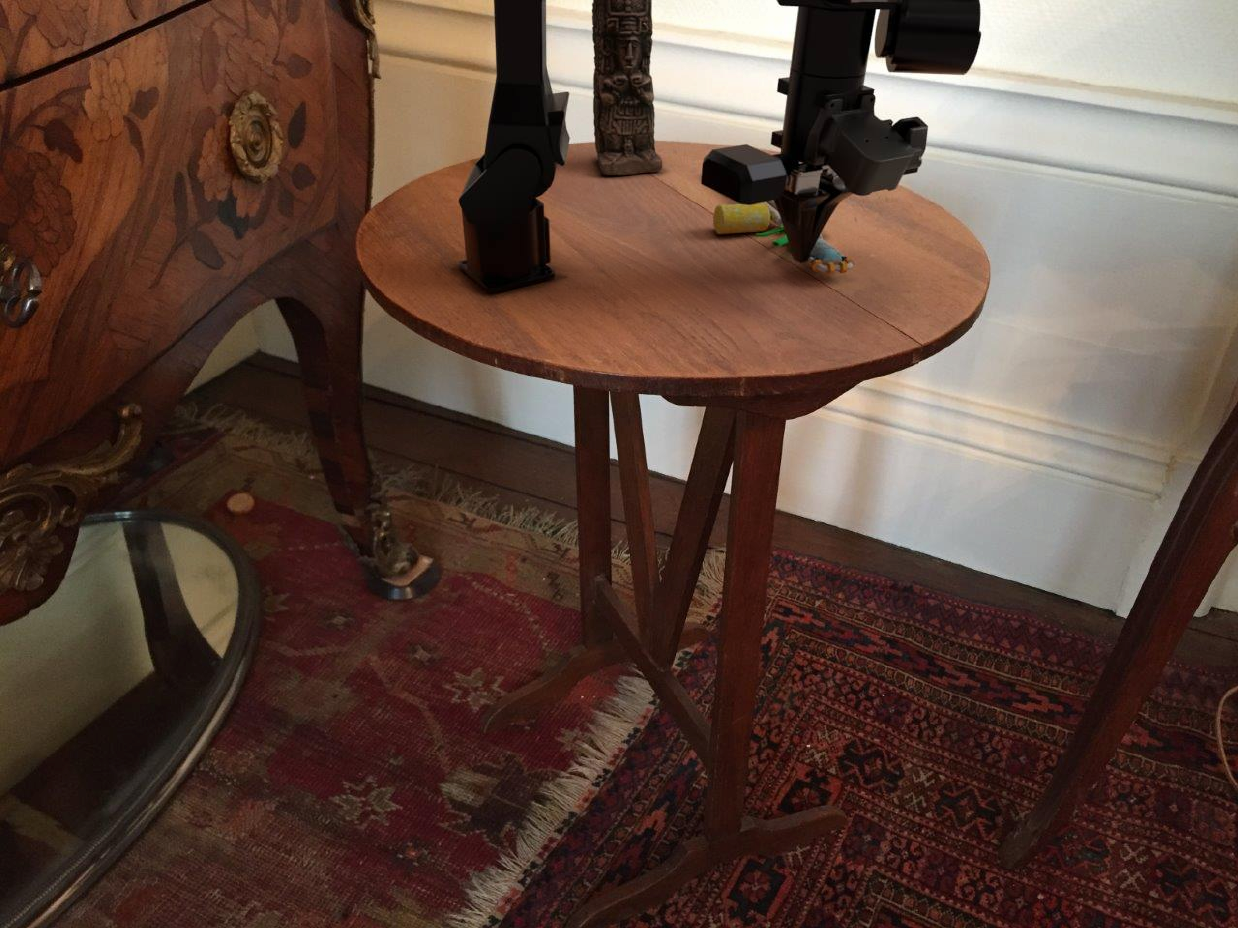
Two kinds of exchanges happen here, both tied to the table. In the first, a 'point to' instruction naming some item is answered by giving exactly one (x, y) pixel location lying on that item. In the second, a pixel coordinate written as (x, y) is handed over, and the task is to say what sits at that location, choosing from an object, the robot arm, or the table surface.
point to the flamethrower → (758, 219)
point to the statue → (623, 87)
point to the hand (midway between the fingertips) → (799, 261)
